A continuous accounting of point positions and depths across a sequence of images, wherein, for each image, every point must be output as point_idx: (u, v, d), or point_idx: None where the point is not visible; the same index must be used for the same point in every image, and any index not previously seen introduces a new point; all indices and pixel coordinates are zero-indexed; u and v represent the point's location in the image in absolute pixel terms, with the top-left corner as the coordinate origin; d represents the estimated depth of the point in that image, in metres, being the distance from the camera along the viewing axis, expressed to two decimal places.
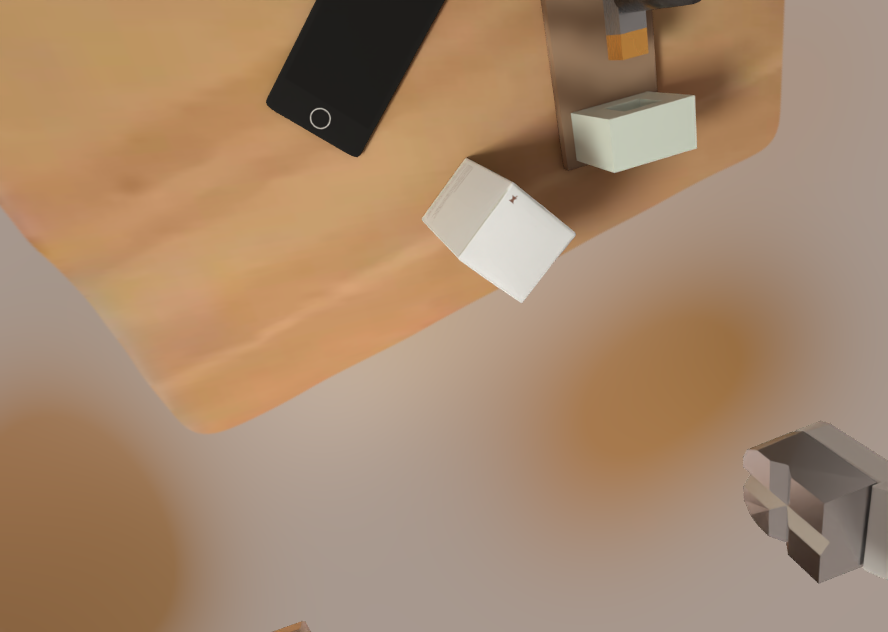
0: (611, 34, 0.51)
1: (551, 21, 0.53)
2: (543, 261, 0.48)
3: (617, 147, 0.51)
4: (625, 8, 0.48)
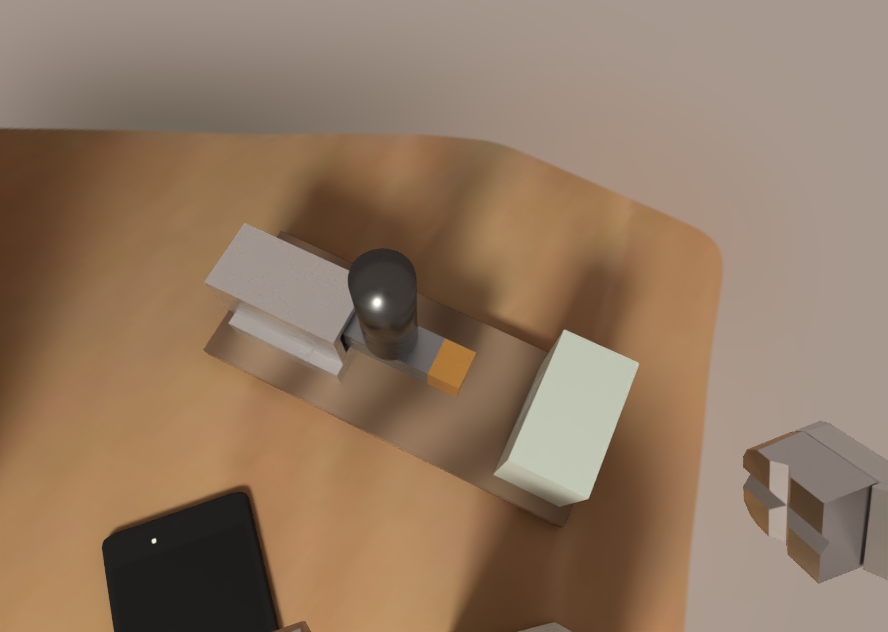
0: (427, 380, 0.36)
1: (374, 429, 0.39)
2: None
3: (554, 471, 0.31)
4: (399, 354, 0.34)
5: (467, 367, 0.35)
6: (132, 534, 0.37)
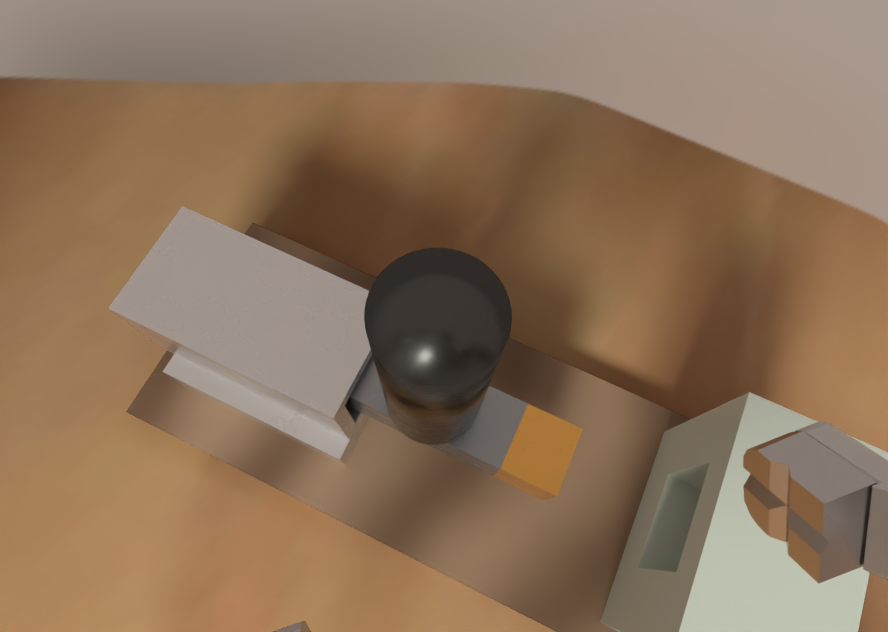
0: (494, 473, 0.21)
1: (402, 544, 0.24)
2: None
3: None
4: (451, 437, 0.19)
5: (569, 456, 0.20)
6: None
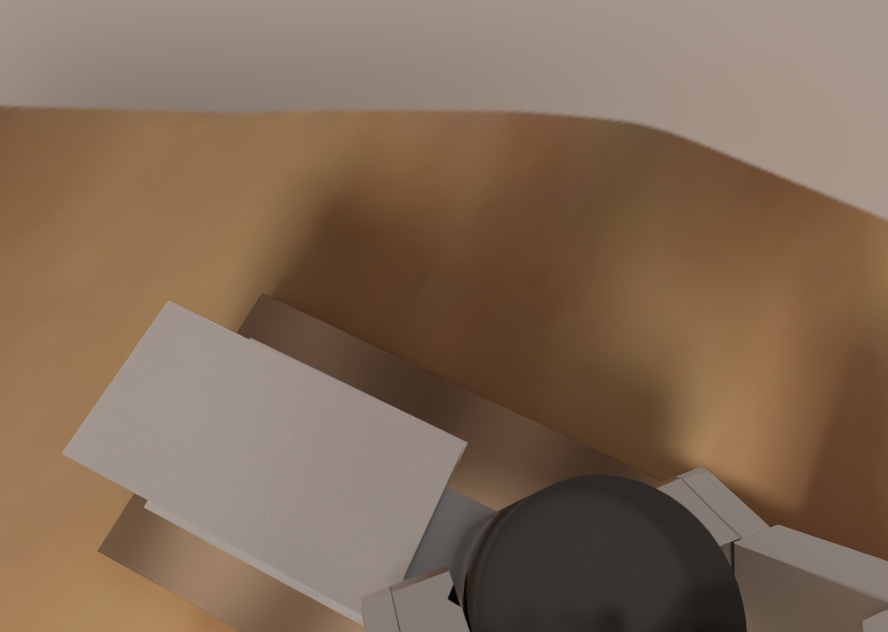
0: None
1: None
2: None
3: None
4: None
5: None
6: None
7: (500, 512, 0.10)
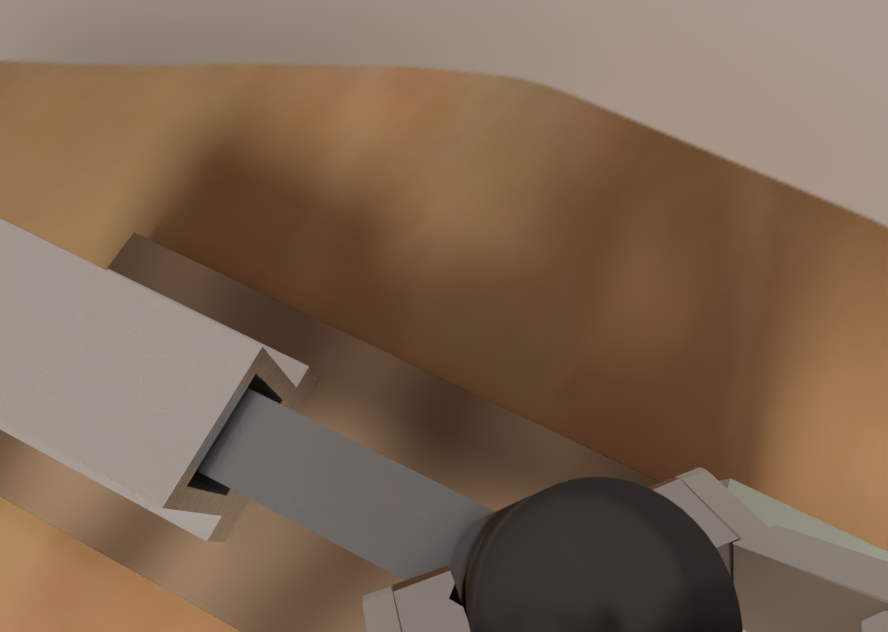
0: None
1: None
2: None
3: None
4: None
5: None
6: None
7: (498, 513, 0.10)
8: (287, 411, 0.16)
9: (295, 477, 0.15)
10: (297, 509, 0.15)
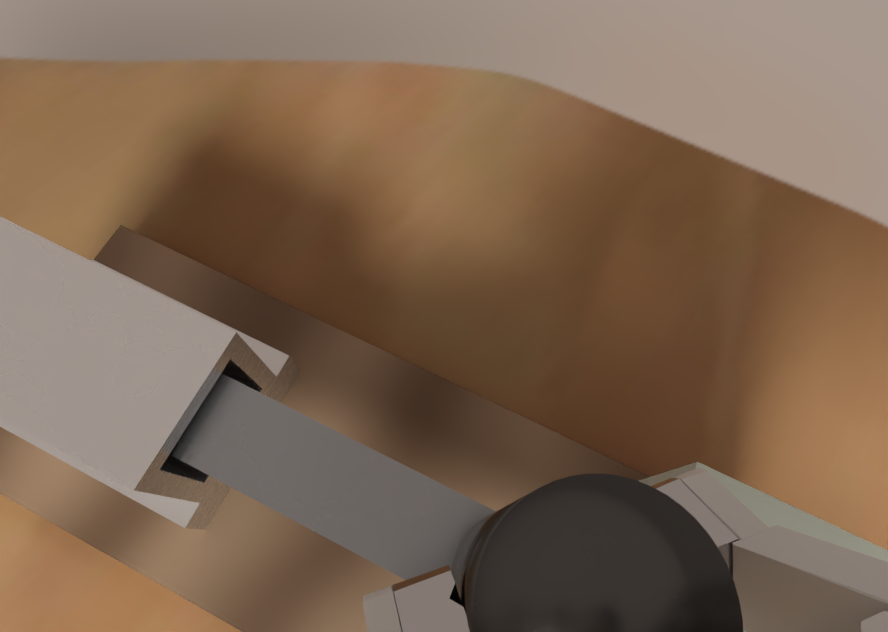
0: None
1: None
2: None
3: None
4: None
5: None
6: None
7: (498, 512, 0.10)
8: (289, 411, 0.16)
9: (296, 477, 0.15)
10: (299, 509, 0.15)
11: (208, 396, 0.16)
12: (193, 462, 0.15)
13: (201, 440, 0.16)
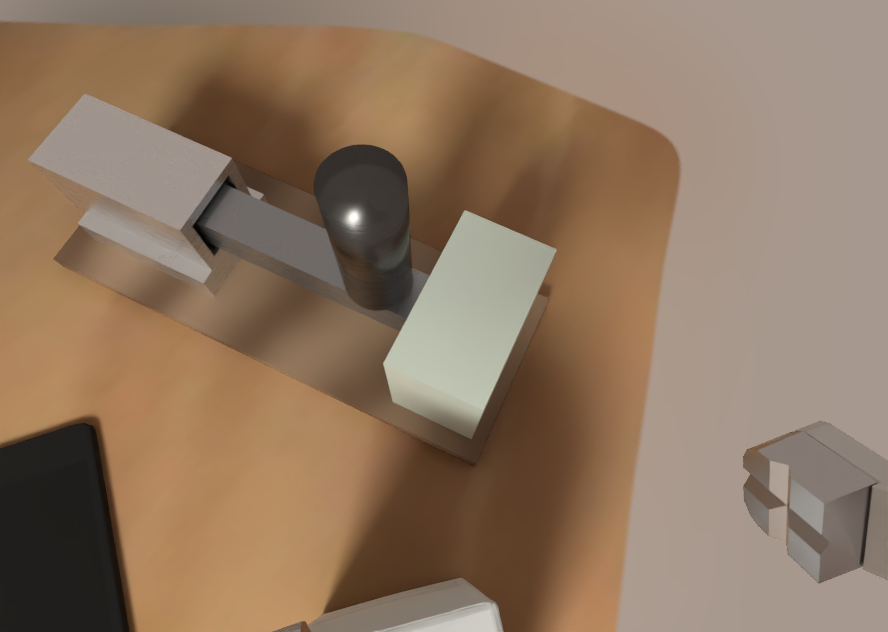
0: None
1: (252, 349, 0.32)
2: None
3: (442, 377, 0.25)
4: (388, 301, 0.27)
5: None
6: None
7: None
8: (260, 202, 0.30)
9: (264, 233, 0.29)
10: (265, 247, 0.29)
11: (216, 195, 0.30)
12: (209, 226, 0.29)
13: (213, 215, 0.29)
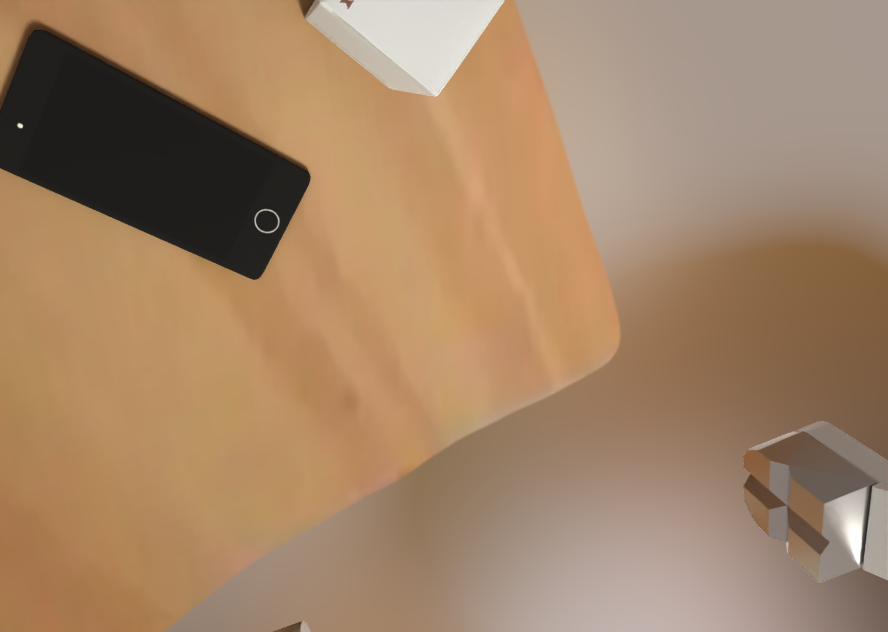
0: None
1: None
2: None
3: None
4: None
5: None
6: None
7: None
8: None
9: None
10: None
11: None
12: None
13: None
